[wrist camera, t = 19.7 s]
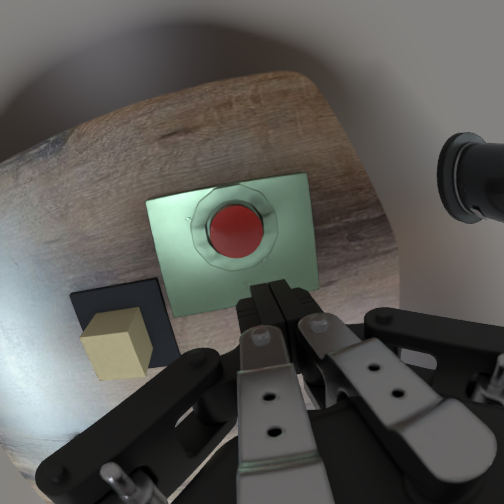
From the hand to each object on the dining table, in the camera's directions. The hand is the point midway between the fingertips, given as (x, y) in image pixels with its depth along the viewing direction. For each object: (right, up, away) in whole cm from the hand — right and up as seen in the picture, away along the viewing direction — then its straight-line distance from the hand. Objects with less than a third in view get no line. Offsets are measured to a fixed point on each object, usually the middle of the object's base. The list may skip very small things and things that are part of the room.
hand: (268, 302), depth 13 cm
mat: (-14, -6, +16) cm, 22 cm away
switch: (-2, +4, +12) cm, 12 cm away
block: (-14, -6, +16) cm, 22 cm away
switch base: (-2, +3, +16) cm, 16 cm away
